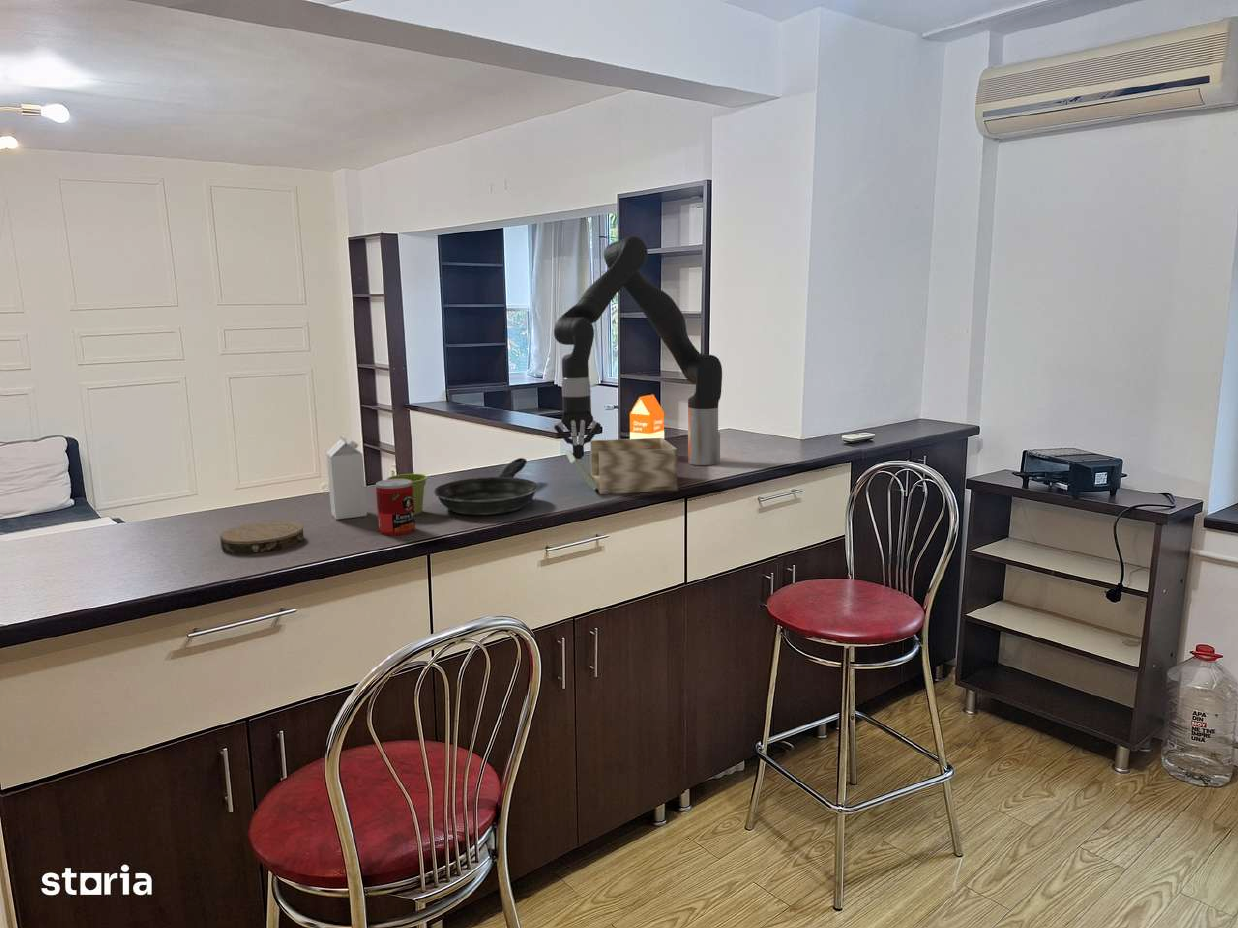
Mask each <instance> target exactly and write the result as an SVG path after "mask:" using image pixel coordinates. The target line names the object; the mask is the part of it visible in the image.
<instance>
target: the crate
mask: <svg viewBox="0 0 1238 928" xmlns="http://www.w3.org/2000/svg"><path fill="white" fill-rule="evenodd" d="M589 445H590V448H589V449H590V474H591V476H592V478H593V479H594V481H595V483H596V484H597V486H598V488H597V489H596V490H597V491H598V493H599V495H610V494H609V493H612V494H628V493H629V494H630V493H631V494H632V493H651V492H670V491H672V492H673V491H678V448H676V447H675V446H674V445H672V444H671V443H670V442H668V440H666V439H665V438H664V439H663V438H641V439H630V438H623V439H622V438H620V439H618V438H617V439H596V440H595V439H594V440H592V439H591V441H590V442H589Z"/></svg>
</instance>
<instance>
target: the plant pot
mask: <svg viewBox="0 0 1238 928" xmlns="http://www.w3.org/2000/svg"><path fill="white" fill-rule="evenodd" d="M387 479H408V480H411V481H412V484H413V498H414V514H415V516H416V515H420V514H421V513H422V512H423V505H424V494H425V493H424V492H425V485H426V481H427V479H428V476H427V475H426V474H421V473H405V474H404V473H403V474H396V475H392V476H388V477H387V478H386V479H385V480H387Z"/></svg>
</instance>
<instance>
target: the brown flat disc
mask: <svg viewBox="0 0 1238 928" xmlns="http://www.w3.org/2000/svg"><path fill="white" fill-rule="evenodd" d="M304 538H305V537H304V527H303V525H302V524H301V523H299V522H294V521H283V520H281V521H280V520H278V521H277V520H273V521H260V522H255V523H248V524H243V525H239V526H234V527H232V528H229V529H226V530H225V531H223V532H222V533H221V534H220V535H219V539H220V545H221V546H220V547H221V550H222V552H224V553H227V554H230V555H231V554H232V555H259V554H267V553H275V552H279V551H283V550H287V549H290V548H294V547H295V546H298V545H299V544H301V543H303V541H304Z"/></svg>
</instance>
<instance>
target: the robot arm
mask: <svg viewBox="0 0 1238 928" xmlns="http://www.w3.org/2000/svg"><path fill="white" fill-rule="evenodd" d="M648 251H649V250H648V247H647V245H646V243H645V242H644V241H643V239H642V238H640V237H638V236H635V235H634V236H633V235H632V236H628V237H627V236H626V237H625V238H622V239H619V240H617V241H614V242H612V243H610V244H608V245H607V246H605V249H604V252H603V257H604V262H605V264H606V266H607V268H608V269H607V270H606V271H605V272H604V273H603V274H602V275H601V276H599V277H598V278H597V279H596V280H595V281H594V282H593V283H591V285H589V287H588V288H587V290H585V292H584V293H583V294H582V295H581V298H580V299H578V301H577V303H576V304H575V305H573V306H572V307H570V308H569V309H568V310H567V311H566V312H565V313H563V314H562V315H561V316H560V317H559V318H558V319H557V321H556V323H555V325H554V329H553V335H554V337H555V340H556V341H557V343H559V344H561V345H566V346H568V345H569V346H573V349H572V352H571V353H569V354H565V355H564V356H563V357H562V359H561V377H562V378H561V379H562V380H561V399H562V402H561V403H562V404H561V405H562V416H561V418H560V421H559V422H558V423H557V424H554V426H553V428H554V430H555V431H556V432H557V433H558V435H559V436H560V437H561V438H562V439H563V440H564V442H566V444H570V445H572V453H573V455H574V457H576V459H578V460H582V458H583V457H584V455H585V447H584V445H585V444H587V443H588V444H589V443H590V441H591V440H592V439H593V438H594V437H595V436H596V434H597V432H598V431H599V429H600V428H601V427H602V424H600V423H599V422H597V421H596V420H595V419H594V416H593V415H592V403H591V402H592V400H591V399H592V398H591V393H592V391H591V382H590V373H589V372H590V370H589V360H590V356H591V352H592V351H591V350H592V347H593V342H594V338H595V328H594V326H593V323H596V322H597V321H598V320H599V319H600V318H601V317H602V315H603V313H604V312H605V311H606V309H607V307H609V305H610V304H611V302H612V300H613V299H614V298H615V297H616V295H617V294H618V293H619V292H620V291H621V289H622V288H624V289H625V290H626V291H627V293H628V294H629V295H630V296H631V298H632V299H633V301H634V302H635V303H636V305H637V306H638V308H640V310H641V311H642V313H643V314H644V315H645V317H646V319H647V321H648V322H649V324H650V325H651V326H652V328H653V329H654V331H655V332H656V333H657V335H658V336H659V337H660V339H661V340H662V342H663V343H664V344H665V346H666V347H667V348H668V350H669V351H670V353H671V354H672V356H673V358H674V361H675V362H676V364H677V366H678V367H679V369H680V371H681V372H682V374H683V376H684V378H685V380H687V381H688V382H690V383H691V384H694V385H695V392H694V394H693V395H692V396H690V397H689V398H688V399H687V463H688V464H690V465H695V466H709V465H711V466H712V465H716V464H717V465H718V464H721V433H720V432H719V402H720V400H721V397H722V386H723V385H722V384H723V366H722V363H721V360H720V359H719V358H718V357H717V356H715V355H713V354H705V353H701V352H699V351H698V350H697V348H696V347H695V345H694V344H693V342H692V341H691V339H690V338H689V336H688V331H687V325H686V321H685V318H684V315H683V313H682V311H681V310H680V308H679V306H678V305H677V304H676V302H675V301H674V299H673V298H672V297H671V296H670V295H669V294H668V293H666V292H665V291H664V290H662V289H661V288H659V287H657V286H656V285H654V284H653V283H651V282H649V281H648V280H647V279H646V278H644V276H643V275H642V274H641V273H640V271H639V270H641V268H643V267H644V266H645V264H646V262H647V261H648V257H649V256H648V254H649V253H648ZM590 425H591V426H590ZM564 427H565V428H566V429H567V430H568V432H569V433H570V436H571V437H569V436H568V435H567V434H566V432H564V429H565V428H564ZM589 427H590V428H591V429H590V431H589V432H588V433H587V434H586V436H585V432H586V431H587V430H588V428H589ZM577 433H578V434H577Z"/></svg>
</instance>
